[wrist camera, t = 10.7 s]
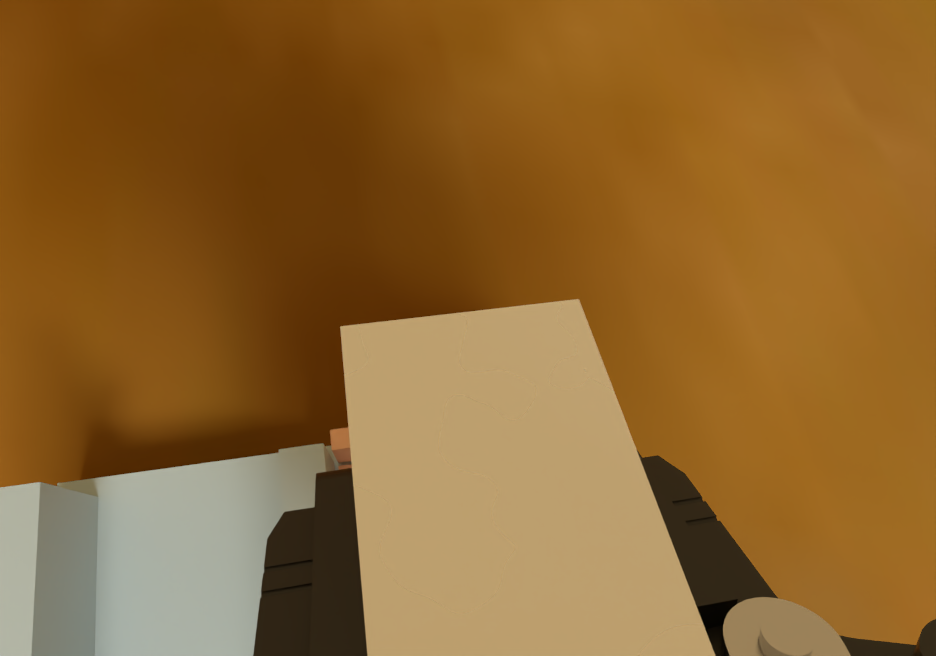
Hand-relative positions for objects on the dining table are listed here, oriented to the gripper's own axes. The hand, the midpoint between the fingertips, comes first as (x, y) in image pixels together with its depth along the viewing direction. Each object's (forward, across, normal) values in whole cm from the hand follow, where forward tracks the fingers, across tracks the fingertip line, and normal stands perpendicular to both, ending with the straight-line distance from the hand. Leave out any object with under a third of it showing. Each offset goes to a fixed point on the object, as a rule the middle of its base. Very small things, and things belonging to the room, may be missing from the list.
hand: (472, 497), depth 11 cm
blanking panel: (+2, 0, +7) cm, 7 cm away
